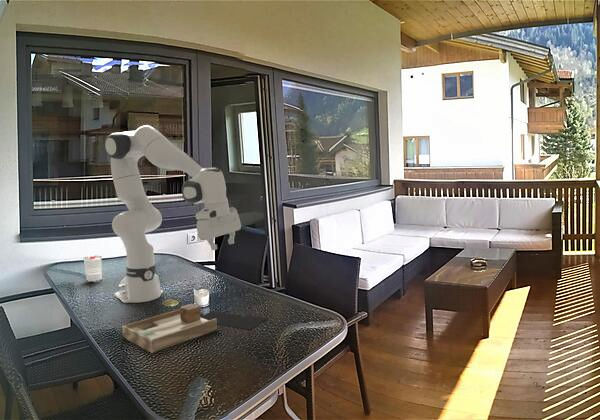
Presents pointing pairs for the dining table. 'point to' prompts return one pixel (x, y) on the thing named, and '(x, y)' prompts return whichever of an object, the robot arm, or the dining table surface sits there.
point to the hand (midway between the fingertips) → (223, 246)
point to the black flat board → (234, 320)
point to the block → (190, 313)
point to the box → (166, 331)
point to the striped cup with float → (93, 268)
